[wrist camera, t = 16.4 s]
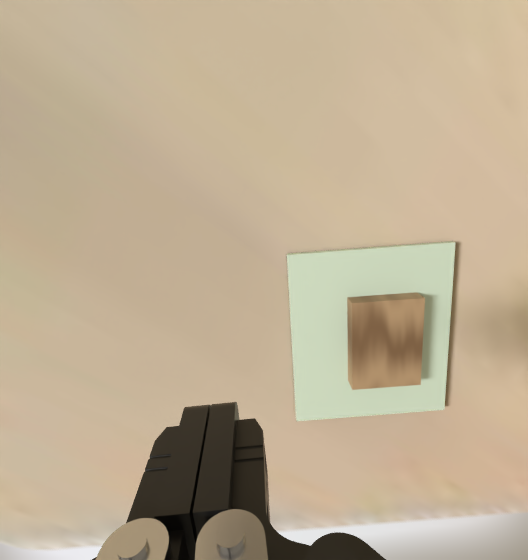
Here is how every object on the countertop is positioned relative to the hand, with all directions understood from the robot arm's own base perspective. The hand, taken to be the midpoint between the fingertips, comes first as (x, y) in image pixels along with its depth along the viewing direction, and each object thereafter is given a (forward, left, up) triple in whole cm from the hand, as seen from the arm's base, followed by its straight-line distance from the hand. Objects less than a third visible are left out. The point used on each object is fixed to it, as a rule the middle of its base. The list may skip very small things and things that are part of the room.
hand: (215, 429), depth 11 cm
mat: (+7, +11, -21) cm, 25 cm away
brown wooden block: (+7, +9, -20) cm, 23 cm away
